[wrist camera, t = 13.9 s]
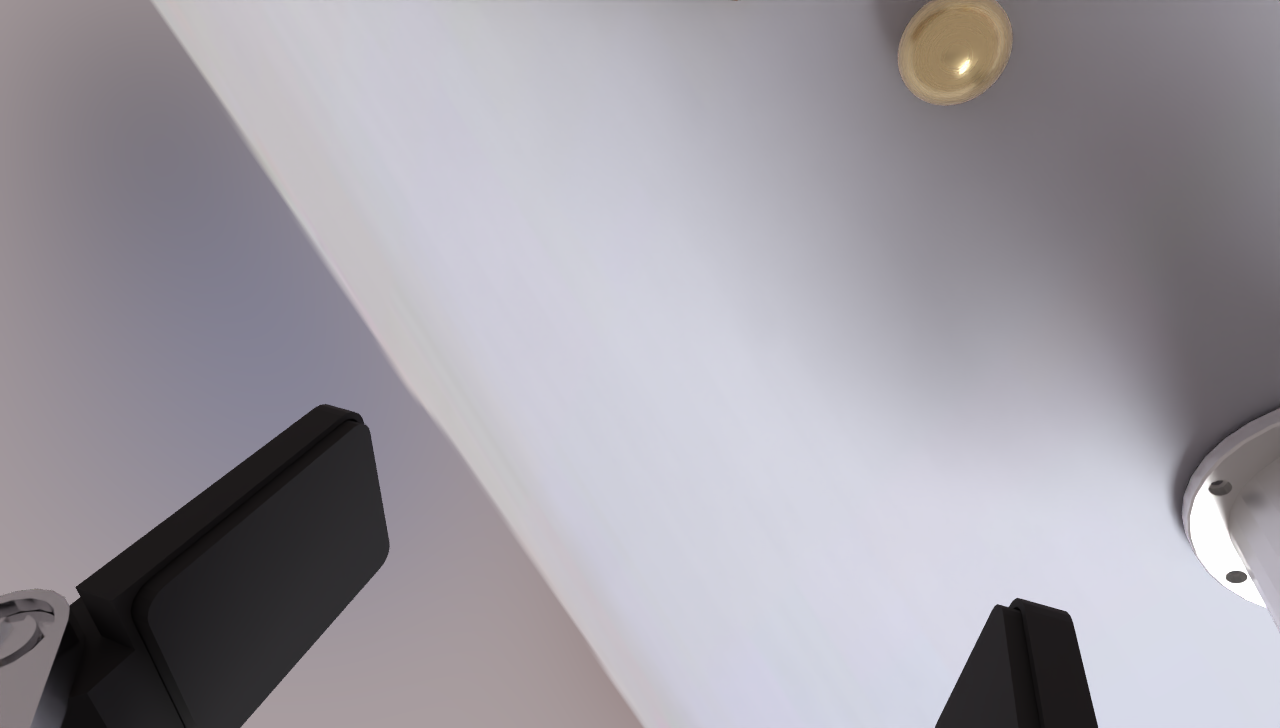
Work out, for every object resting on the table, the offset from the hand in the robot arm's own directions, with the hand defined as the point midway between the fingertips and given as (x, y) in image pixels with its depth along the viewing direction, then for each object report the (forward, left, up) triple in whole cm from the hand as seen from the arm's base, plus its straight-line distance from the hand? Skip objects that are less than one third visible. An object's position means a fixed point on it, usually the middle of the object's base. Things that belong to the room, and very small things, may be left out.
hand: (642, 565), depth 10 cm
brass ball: (-4, -5, -24) cm, 25 cm away
